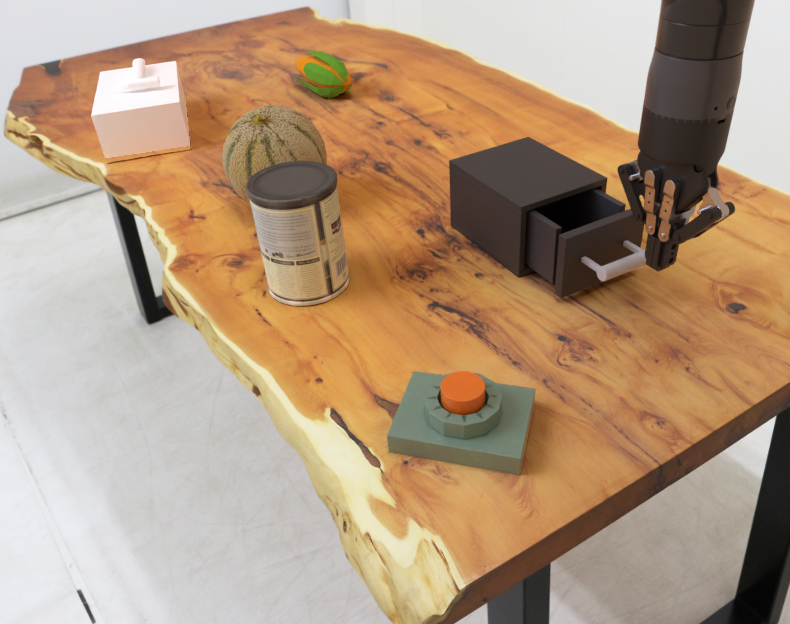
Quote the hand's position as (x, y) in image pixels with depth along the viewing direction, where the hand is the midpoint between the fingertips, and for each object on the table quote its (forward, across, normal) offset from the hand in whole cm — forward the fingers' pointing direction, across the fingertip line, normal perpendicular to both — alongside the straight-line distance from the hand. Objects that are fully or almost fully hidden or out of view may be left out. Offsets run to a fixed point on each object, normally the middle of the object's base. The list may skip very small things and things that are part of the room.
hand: (658, 266), depth 73 cm
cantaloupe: (+8, -51, -23) cm, 56 cm away
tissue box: (+8, -94, -33) cm, 100 cm away
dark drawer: (+7, -13, 0) cm, 15 cm away
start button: (+4, +2, -25) cm, 26 cm away
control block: (+8, +2, -25) cm, 26 cm away
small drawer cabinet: (+8, -23, 0) cm, 24 cm away
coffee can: (+8, -29, -28) cm, 41 cm away
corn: (+8, -94, +2) cm, 94 cm away
